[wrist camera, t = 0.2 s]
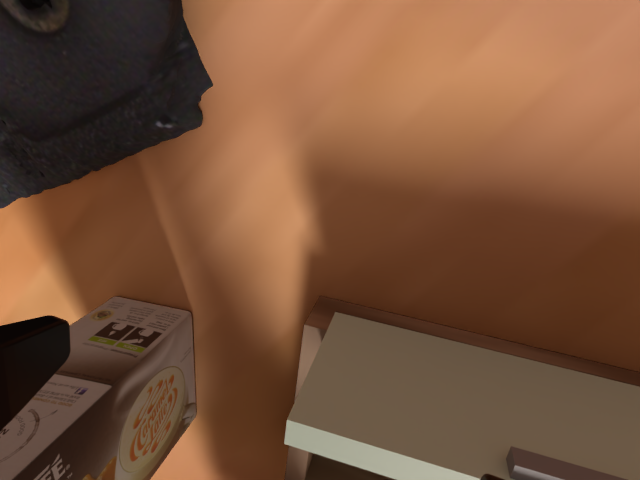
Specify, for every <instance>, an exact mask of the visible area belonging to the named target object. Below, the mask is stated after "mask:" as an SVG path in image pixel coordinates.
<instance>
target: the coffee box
mask: <svg viewBox="0 0 640 480" xmlns="http://www.w3.org/2000/svg"><path fill="white" fill-rule="evenodd" d="M70 345H71V352H70V355H69V357H68V359H67V361H66V362H65V363H64V364H63V365H62V367H61V368H60V369H59V370H58V371H57V372H56V373H55V374H54V375H53V376H52V377H51V379H50V380H49V381H48V382H47V383H46V384H45V385H44V386H43V387H42V388H41V389H40V391H39V392H38V393H37V394H36V395H35V396H34V397H33V398H32V399H31V400H30V401H29V403H28V404H27V405H26V406H25V407H24V408H23V409H22V410H21V411H20V412H19V413H18V414H17V415H16V416H15V418H14V419H13V420H12V421H11V422H10V423H9V424H8V425H6V426H5V427H4V428H3V429H2V430H1V431H0V480H150V479H151V477H152V476H153V475H154V473H155V472H156V471H157V469H158V468H159V467H160V465H161V464H162V462H163V461H164V460H165V458H166V457H167V455H168V454H169V453H170V451H171V450H172V448H173V447H174V446H175V444H176V443H177V442H178V440H179V439H180V437H181V436H182V435H183V433H184V432H185V431H186V429H187V428H188V426H189V425H190V424H191V422H192V421H193V419H194V418H195V417H196V394H195V372H194V351H193V331H192V314H191V313H190V312H189V311H185V310H180V309H176V308H171V307H166V306H161V305H156V304H151V303H147V302H142V301H137V300H132V299H127V298H122V297H112V298H111V299H109V300H108V301H107V302H105V303H104V304H102V305H101V306H99V307H98V308H96V309H95V310H93V311H92V312H90V313H89V314H87V315H85V316H84V317H82V318H81V319H79V320H78V321H76V322H74V323H73V324H72V325H70Z"/></svg>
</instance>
